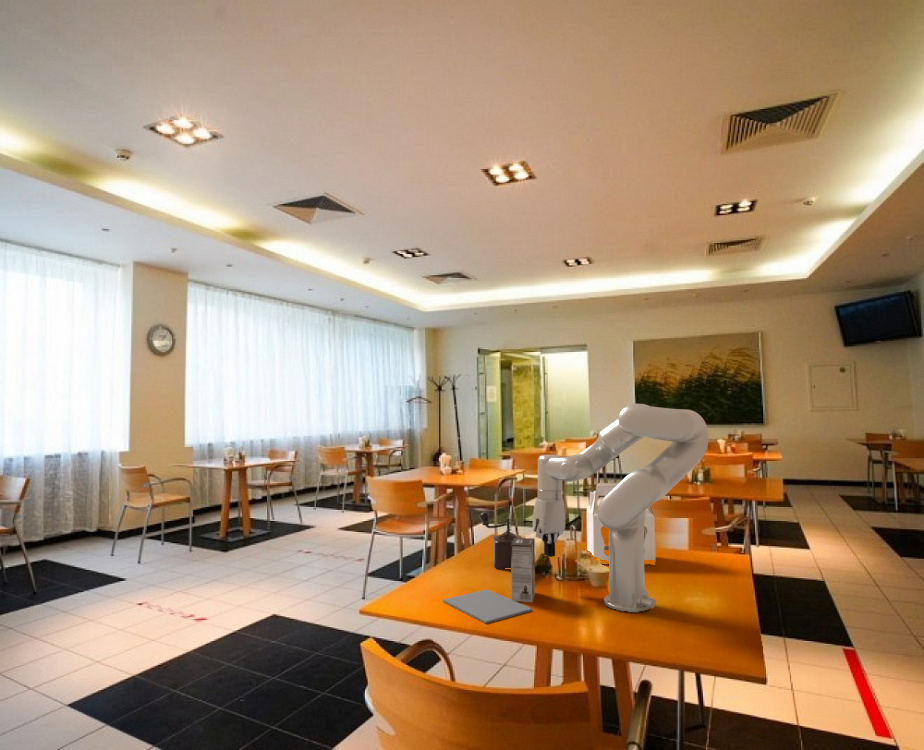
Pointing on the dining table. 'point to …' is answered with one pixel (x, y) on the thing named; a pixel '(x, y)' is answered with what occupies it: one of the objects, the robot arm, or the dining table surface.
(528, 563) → the coffee box
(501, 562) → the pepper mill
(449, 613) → the dining table surface
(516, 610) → the mat
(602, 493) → the gable box
